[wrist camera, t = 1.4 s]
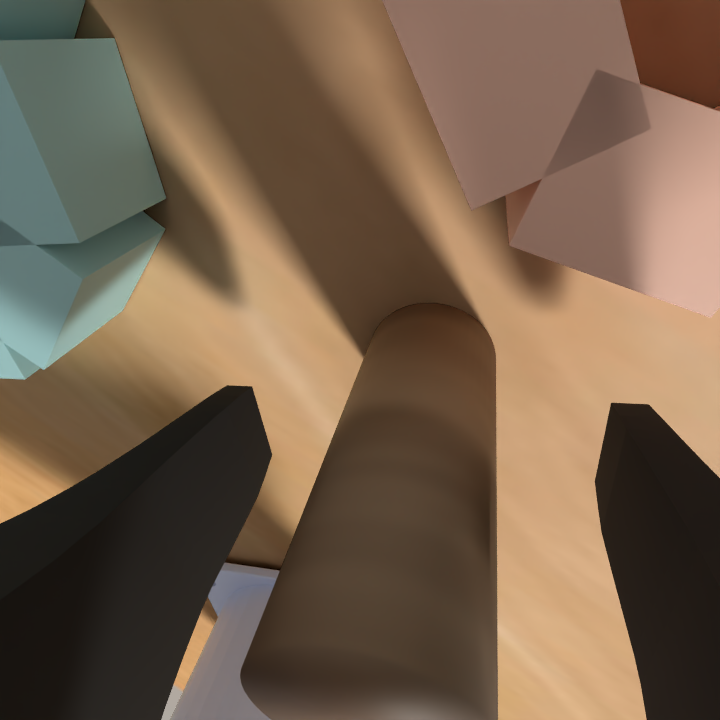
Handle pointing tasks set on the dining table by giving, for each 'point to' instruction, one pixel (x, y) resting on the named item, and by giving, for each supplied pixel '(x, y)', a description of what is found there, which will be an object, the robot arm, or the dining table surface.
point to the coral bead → (572, 139)
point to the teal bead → (66, 185)
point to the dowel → (395, 542)
